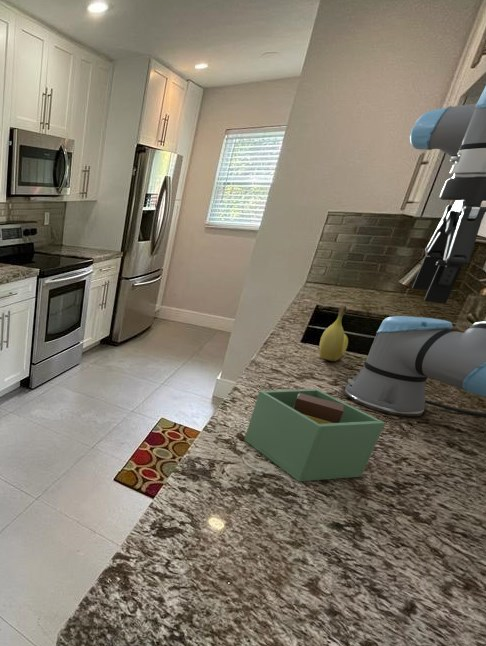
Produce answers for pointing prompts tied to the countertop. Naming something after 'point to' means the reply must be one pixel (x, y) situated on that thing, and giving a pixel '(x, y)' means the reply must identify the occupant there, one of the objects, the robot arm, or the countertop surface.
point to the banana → (334, 339)
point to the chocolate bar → (319, 409)
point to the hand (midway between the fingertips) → (427, 295)
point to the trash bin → (311, 437)
